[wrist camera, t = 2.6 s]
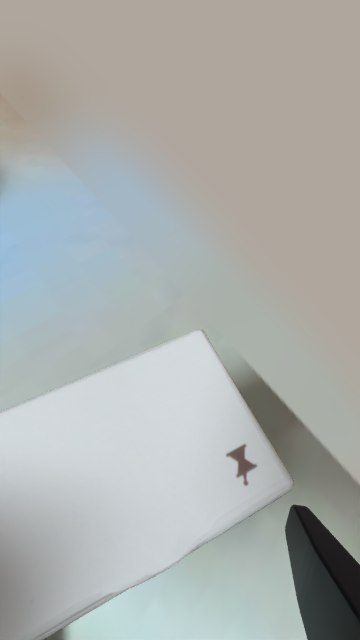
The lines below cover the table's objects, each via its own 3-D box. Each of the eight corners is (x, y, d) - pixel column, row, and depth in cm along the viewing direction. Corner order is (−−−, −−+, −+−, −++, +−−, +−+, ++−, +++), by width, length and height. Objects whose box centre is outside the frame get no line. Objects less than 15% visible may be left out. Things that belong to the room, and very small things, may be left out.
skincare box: (184, 416, 18) (208, 320, 8) (217, 488, 16) (309, 491, 6) (88, 462, 16) (-44, 420, 6) (112, 547, 15) (-20, 696, 4)
